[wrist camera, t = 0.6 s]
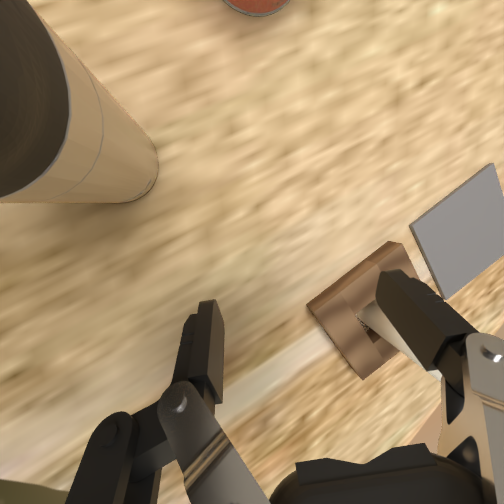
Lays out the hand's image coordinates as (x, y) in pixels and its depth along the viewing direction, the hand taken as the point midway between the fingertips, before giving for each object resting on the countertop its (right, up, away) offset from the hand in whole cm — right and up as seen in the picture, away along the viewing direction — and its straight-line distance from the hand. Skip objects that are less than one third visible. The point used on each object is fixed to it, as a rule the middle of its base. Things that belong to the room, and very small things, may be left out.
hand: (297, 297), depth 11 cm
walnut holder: (+17, -7, +25) cm, 31 cm away
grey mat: (+33, +5, +26) cm, 42 cm away
